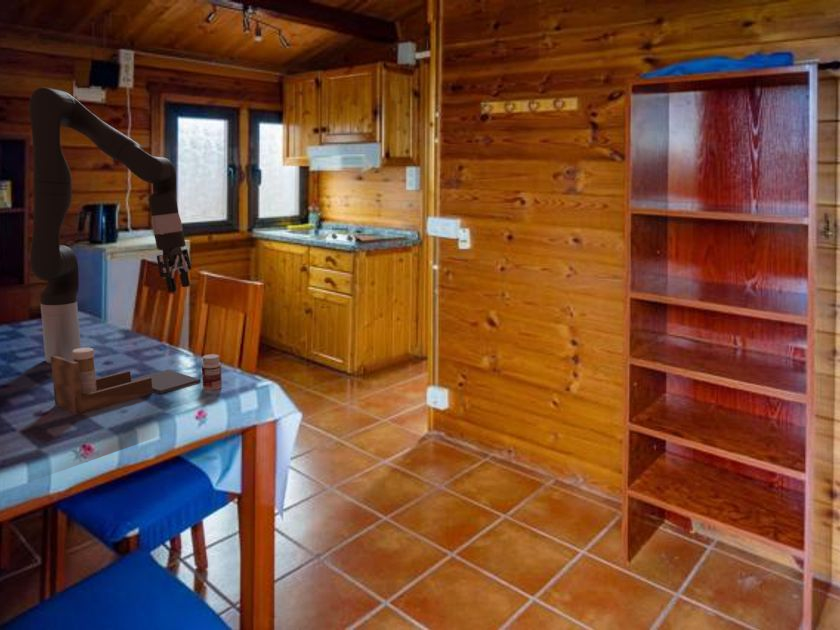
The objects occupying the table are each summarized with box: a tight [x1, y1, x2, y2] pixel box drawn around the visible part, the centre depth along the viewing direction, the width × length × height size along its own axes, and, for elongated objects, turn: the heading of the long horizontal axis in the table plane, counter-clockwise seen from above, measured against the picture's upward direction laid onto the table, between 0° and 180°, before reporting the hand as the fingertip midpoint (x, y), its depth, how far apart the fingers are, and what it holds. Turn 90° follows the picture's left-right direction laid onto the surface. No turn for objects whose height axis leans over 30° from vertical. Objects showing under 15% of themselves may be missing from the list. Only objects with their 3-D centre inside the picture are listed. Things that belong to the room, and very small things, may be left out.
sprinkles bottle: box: [72, 347, 97, 395], centre depth 158 cm, size 5×5×14 cm
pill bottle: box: [201, 353, 223, 391], centre depth 172 cm, size 5×5×8 cm
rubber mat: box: [131, 369, 202, 394], centre depth 176 cm, size 14×12×1 cm
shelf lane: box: [50, 355, 153, 415], centre depth 162 cm, size 10×19×12 cm, turn 146°
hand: (179, 289), depth 186 cm, fingers open, 8 cm apart
